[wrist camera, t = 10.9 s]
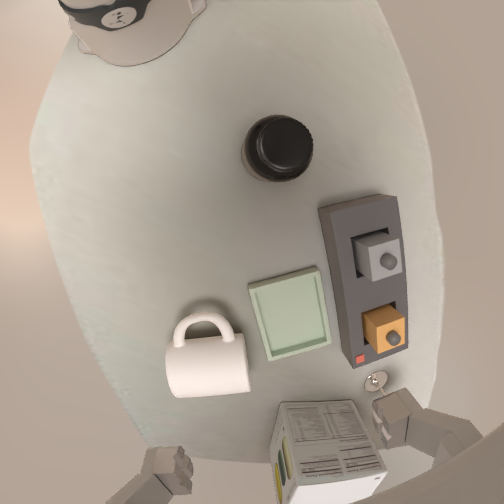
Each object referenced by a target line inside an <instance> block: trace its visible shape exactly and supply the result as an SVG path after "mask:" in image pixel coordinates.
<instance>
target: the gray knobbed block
mask: <svg viewBox="0 0 504 504" xmlns="http://www.w3.org/2000/svg"><path fill="white" fill-rule="evenodd" d="M350 238H351V244H352V250H353V256H354V263H355V269H356V270H358V271H359V272H360V273H362V274H363V275H364V276H366V277H367V278H368V279H370V280H371V281H372V282H374V281H377V280H380V279H383V278H386V277H389V276H392V275H395V274H398V273H401V272H402V263H401V252H400V243H399V238H396V237H394V236H391V235H389V234H386V233H383V232H381V231H378V230H376V231H372V232H368V233H365V234H361V235H357V236H354V237H350Z"/></svg>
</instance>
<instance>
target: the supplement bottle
mask: <svg viewBox="0 0 504 504" xmlns="http://www.w3.org/2000/svg"><path fill="white" fill-rule="evenodd" d="M312 156H313V139H312V138H311V134H310V133H309V130H308V129H307V128H306V126H304V125H303V124H302V123H301V122H299V121H297V120H296V119H294V118H291V117H289V116H285V115H271V116H267V117H264V118H262V119H260V120H259V121H257V122H256V123H255V124H254V125H253V126H252V127H251V128H250V130H249V131H248V133H247V135H246V137H245V140H244V142H243V145H242V149H241V159H242V162H243V165H244V167H245V169H246V170H247V171H248V172H249V173H250V174H251V175H252V176H253V177H255V178H257V179H259V180H262V181H268V182H286V181H290V180H293V179H295V178H297V177H299V176H300V175H301V174H302V173H304V171H305V170H306V169H307V168H308V166H309V164H310V162H311V160H312Z"/></svg>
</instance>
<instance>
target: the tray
mask: <svg viewBox="0 0 504 504" xmlns="http://www.w3.org/2000/svg"><path fill="white" fill-rule="evenodd" d="M248 289H249V293H250V297H251V300H252V304H253V307H254V311H255V315H256V318H257V322H258V325H259V329H260V333H261V336H262V340H263V343H264V347H265V350H266V354H267V357H268V361H272V360H276V359H280V358H284V357H287V356H291V355H295V354H298V353H302V352H305V351H309V350H312V349H315V348H319V347H322V346H325V345H329V344H332V342H331V336H330V329H329V323H328V317H327V311H326V305H325V299H324V293H323V288H322V282H321V277H320V272H319V270H318V269H317V268H316V267H311V268H307V269H304V270H300V271H296V272H293V273H289V274H285V275H281V276H278V277H274V278H270V279H266V280H263V281H259V282H255V283H251V284H248Z"/></svg>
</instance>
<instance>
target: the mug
mask: <svg viewBox="0 0 504 504" xmlns="http://www.w3.org/2000/svg"><path fill="white" fill-rule="evenodd" d="M199 321H210V322H213V323H214V324H215V325H216V326H217V327H218V328H219V330H220V332H221V334H222V336H214V337H205V338H196V339H185V331H186V329H187V327H188V326H189V325H191V324H193V323H195V322H199ZM165 365H166V374H167V379H168V383H169V386H170V389H171V391H172V393H173V394H174V396H175V397H177V398H185V397H200V396H213V395H224V394H233V393H242V392H250V391H251V381H250V373H249V366H248V359H247V352H246V346H245V340H244V335H243V334H242V333H239V334H234V332H233V329H232V327H231V325H230V323H229V322H228V321H227V319H226V318H224V317H223V316H222V315H220V314H218V313H215V312H199V313H195V314H192V315H189V316H187V317H186V318H184V319H183V320H181V321H180V322H179V323H178V325H177V326H176V328H175V331H174V335H173V341H170V342H169V343H168V345H167V348H166V355H165Z"/></svg>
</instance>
